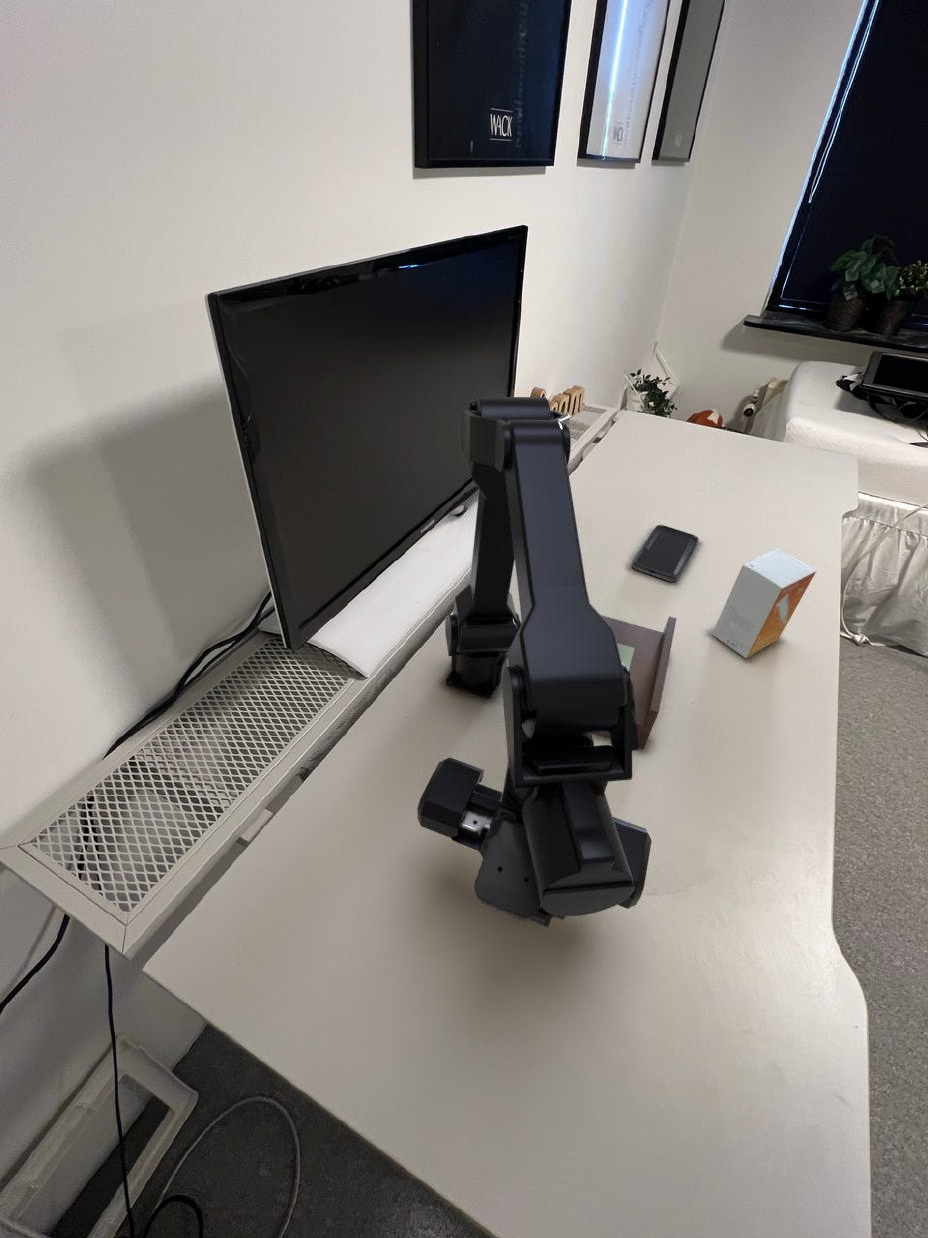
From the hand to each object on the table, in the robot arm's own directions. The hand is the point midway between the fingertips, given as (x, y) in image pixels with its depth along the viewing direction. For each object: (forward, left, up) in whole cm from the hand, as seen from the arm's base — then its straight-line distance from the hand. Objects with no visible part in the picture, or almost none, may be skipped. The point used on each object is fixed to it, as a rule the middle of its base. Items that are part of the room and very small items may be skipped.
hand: (520, 873), depth 55 cm
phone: (+6, +67, -5) cm, 67 cm away
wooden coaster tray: (+2, +32, -5) cm, 32 cm away
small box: (+20, +50, -5) cm, 54 cm away
